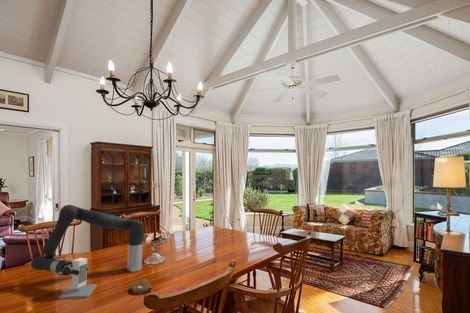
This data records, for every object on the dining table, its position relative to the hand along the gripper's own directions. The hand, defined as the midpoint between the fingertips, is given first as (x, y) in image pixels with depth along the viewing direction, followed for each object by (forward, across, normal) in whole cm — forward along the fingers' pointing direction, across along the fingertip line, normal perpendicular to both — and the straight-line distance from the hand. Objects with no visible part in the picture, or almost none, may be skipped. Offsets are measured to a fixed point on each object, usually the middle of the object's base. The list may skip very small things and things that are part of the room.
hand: (83, 271), depth 146 cm
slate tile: (-3, 0, +12) cm, 12 cm away
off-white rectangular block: (-3, 0, +8) cm, 8 cm away
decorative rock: (+26, +17, +12) cm, 33 cm away
